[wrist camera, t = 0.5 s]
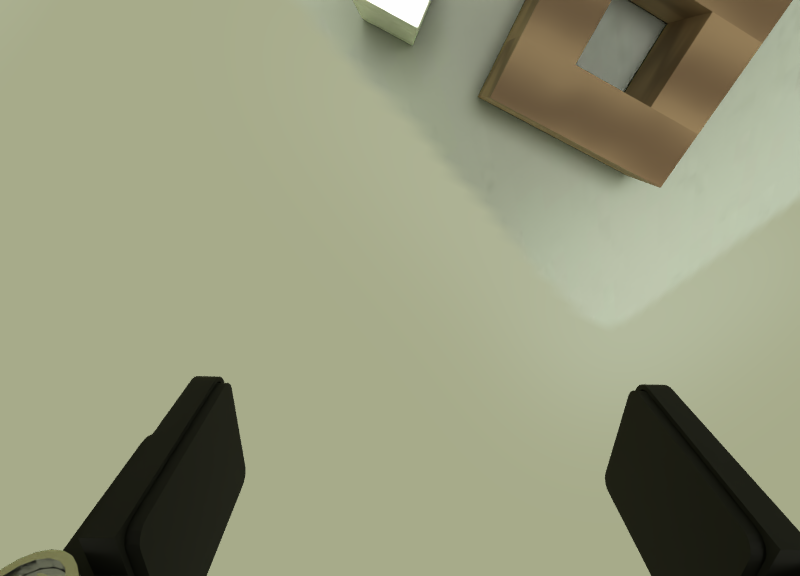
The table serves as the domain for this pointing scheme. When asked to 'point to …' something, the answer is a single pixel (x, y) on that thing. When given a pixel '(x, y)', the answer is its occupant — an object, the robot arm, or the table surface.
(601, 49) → the table surface
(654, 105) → the socket block
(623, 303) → the table surface
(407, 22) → the square peg
